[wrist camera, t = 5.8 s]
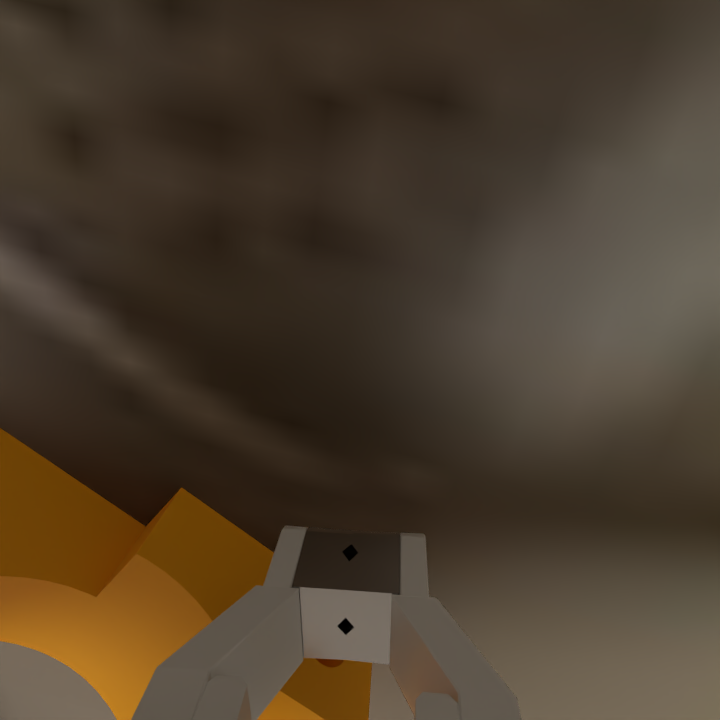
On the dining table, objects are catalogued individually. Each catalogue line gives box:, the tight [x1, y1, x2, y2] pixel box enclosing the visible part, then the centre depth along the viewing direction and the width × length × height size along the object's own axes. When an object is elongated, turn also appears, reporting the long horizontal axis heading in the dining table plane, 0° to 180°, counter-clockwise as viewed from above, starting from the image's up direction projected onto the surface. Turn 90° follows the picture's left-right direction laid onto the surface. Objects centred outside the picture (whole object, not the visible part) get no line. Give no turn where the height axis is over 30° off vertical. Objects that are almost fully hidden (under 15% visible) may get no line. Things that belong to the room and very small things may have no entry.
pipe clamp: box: [0, 428, 372, 720], centre depth 10 cm, size 12×4×6 cm, turn 49°
